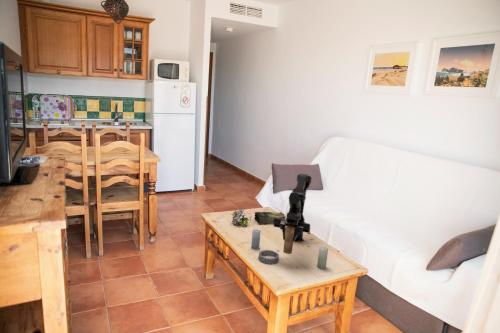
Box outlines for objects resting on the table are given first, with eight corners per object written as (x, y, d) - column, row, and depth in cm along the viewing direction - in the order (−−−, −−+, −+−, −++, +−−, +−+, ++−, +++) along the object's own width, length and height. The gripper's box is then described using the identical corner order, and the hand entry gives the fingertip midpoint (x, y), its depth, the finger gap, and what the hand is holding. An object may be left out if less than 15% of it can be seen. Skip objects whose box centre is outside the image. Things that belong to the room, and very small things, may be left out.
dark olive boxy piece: (281, 218, 241) (282, 210, 240) (287, 224, 232) (287, 215, 230) (254, 219, 236) (254, 211, 234) (258, 225, 226) (258, 216, 225)
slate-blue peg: (257, 245, 196) (258, 229, 194) (260, 249, 192) (261, 232, 190) (250, 246, 194) (251, 229, 192) (253, 249, 190) (254, 232, 188)
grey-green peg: (322, 264, 179) (324, 246, 177) (327, 268, 176) (329, 250, 173) (315, 265, 178) (317, 247, 176) (320, 269, 174) (322, 251, 172)
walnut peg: (289, 249, 178) (292, 225, 175) (293, 253, 174) (296, 229, 171) (281, 250, 177) (284, 226, 174) (285, 254, 172) (287, 229, 170)
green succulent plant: (233, 231, 226) (228, 214, 229) (248, 226, 231) (242, 209, 234) (238, 228, 216) (232, 210, 219) (254, 223, 221) (248, 205, 224)
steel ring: (272, 253, 188) (273, 249, 187) (282, 262, 178) (282, 257, 178) (255, 255, 183) (255, 251, 183) (263, 265, 174) (264, 260, 174)
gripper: (275, 202, 176) (268, 230, 168) (312, 208, 171) (306, 238, 163) (277, 212, 185) (270, 239, 177) (312, 218, 180) (307, 246, 173)
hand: (288, 240), depth 172 cm, fingers closed on walnut peg, 4 cm apart
